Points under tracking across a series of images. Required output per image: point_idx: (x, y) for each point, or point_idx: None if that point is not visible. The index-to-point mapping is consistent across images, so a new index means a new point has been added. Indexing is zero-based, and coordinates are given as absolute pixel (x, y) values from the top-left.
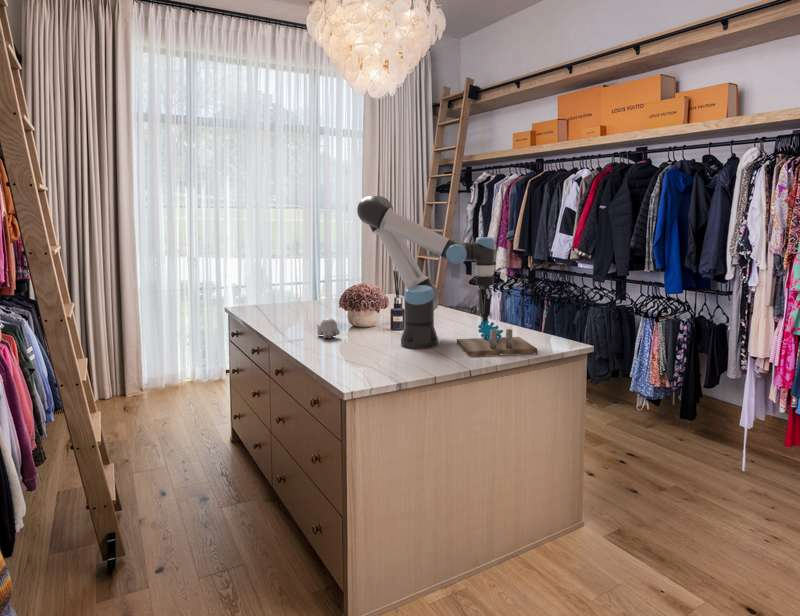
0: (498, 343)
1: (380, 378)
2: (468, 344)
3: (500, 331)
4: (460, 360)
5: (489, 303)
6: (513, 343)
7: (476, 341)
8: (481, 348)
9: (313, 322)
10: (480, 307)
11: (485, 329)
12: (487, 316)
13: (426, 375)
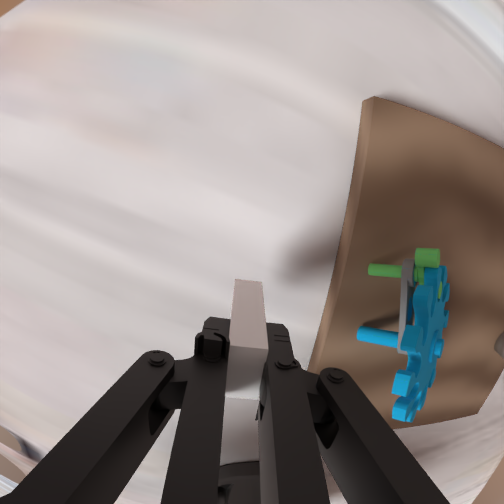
0: (465, 295)
1: (457, 500)
2: None
3: (440, 272)
4: (477, 421)
5: (420, 485)
6: (493, 226)
7: (383, 377)
8: (479, 378)
9: (6, 493)
10: (151, 442)
11: (426, 377)
12: (304, 371)
13: (493, 460)
